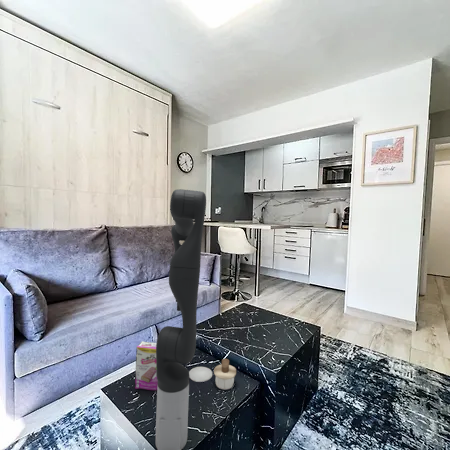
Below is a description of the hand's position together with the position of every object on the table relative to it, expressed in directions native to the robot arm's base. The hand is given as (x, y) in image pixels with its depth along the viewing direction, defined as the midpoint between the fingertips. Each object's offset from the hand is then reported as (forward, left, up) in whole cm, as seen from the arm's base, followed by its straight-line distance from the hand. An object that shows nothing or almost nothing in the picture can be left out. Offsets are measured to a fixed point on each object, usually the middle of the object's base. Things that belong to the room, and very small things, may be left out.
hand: (181, 307), depth 108 cm
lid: (-9, -20, -23) cm, 32 cm away
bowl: (-9, -20, -28) cm, 35 cm away
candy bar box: (-11, +9, -28) cm, 31 cm away
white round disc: (-3, -10, -28) cm, 29 cm away
